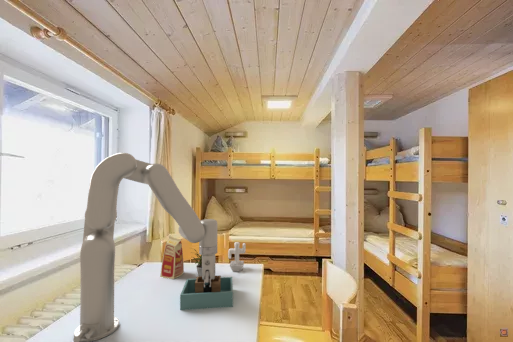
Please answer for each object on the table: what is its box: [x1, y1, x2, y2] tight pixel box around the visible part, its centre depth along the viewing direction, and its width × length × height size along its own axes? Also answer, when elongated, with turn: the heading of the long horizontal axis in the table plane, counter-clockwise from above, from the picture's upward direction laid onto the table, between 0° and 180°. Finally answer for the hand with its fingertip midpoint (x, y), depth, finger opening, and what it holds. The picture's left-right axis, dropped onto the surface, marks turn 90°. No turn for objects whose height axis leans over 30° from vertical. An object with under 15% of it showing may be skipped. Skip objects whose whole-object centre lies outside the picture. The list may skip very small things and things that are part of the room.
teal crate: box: [179, 276, 234, 311], centre depth 104 cm, size 15×20×6 cm
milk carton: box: [159, 235, 185, 280], centre depth 129 cm, size 9×9×20 cm
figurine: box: [227, 241, 247, 272], centre depth 136 cm, size 7×9×15 cm
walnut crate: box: [195, 275, 221, 293], centre depth 104 cm, size 7×10×6 cm, turn 97°
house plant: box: [190, 247, 202, 277], centre depth 126 cm, size 14×14×16 cm
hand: (208, 292), depth 104 cm, fingers closed on walnut crate, 6 cm apart
